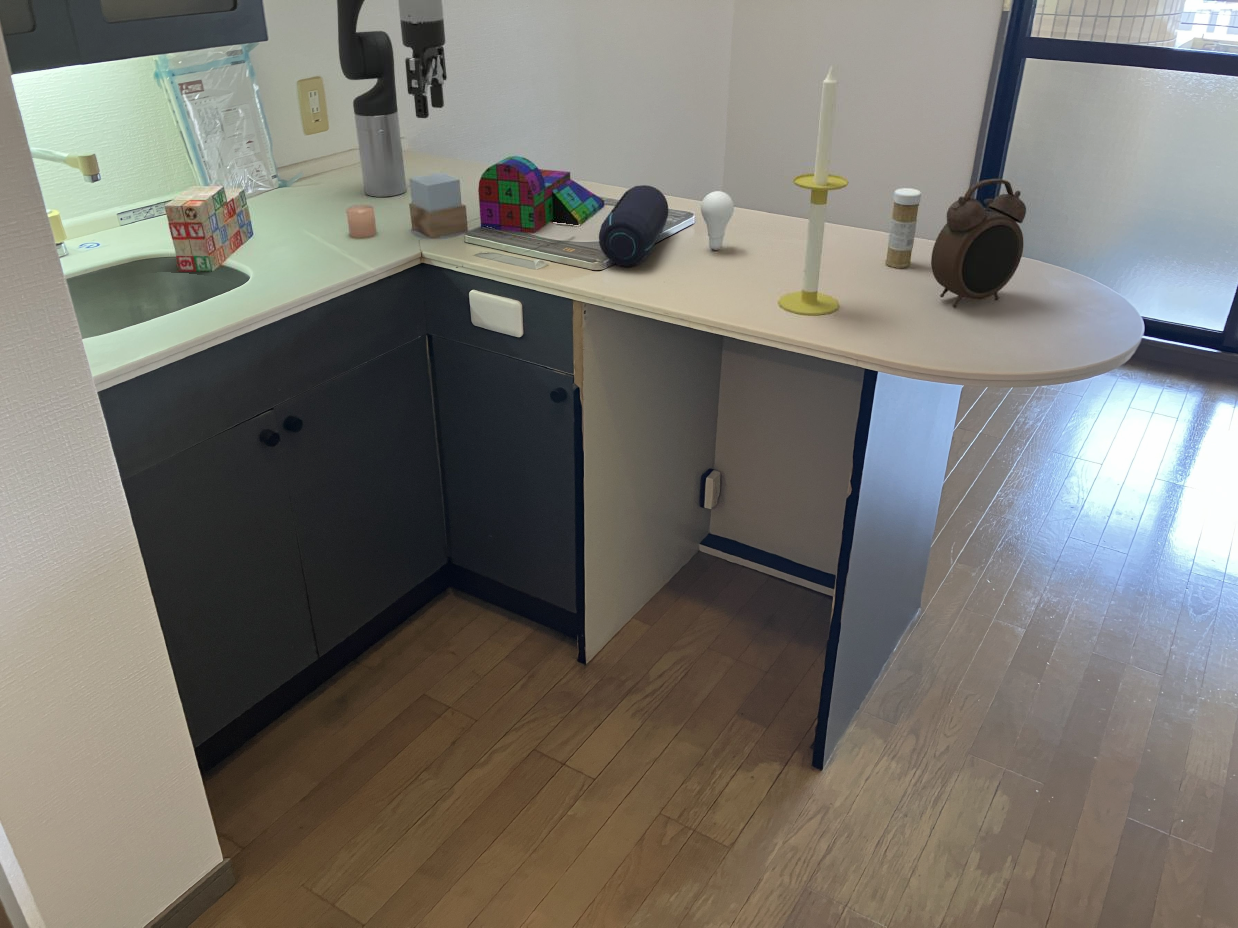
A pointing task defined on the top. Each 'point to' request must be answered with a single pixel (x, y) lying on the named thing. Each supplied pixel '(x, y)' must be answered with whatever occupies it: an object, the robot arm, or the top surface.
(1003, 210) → the alarm clock
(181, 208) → the stack of blocks
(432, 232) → the walnut base block
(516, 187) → the numbered checker block
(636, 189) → the portable speaker
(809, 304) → the candle
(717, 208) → the lightbulb
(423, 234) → the slate coaster
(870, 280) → the top surface
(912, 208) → the sprinkles bottle
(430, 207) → the grey-blue top block
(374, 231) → the peach rounded cylinder
